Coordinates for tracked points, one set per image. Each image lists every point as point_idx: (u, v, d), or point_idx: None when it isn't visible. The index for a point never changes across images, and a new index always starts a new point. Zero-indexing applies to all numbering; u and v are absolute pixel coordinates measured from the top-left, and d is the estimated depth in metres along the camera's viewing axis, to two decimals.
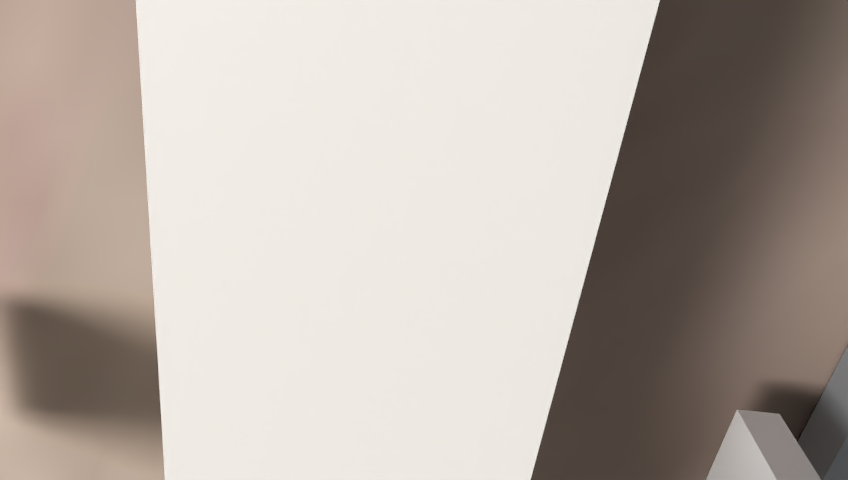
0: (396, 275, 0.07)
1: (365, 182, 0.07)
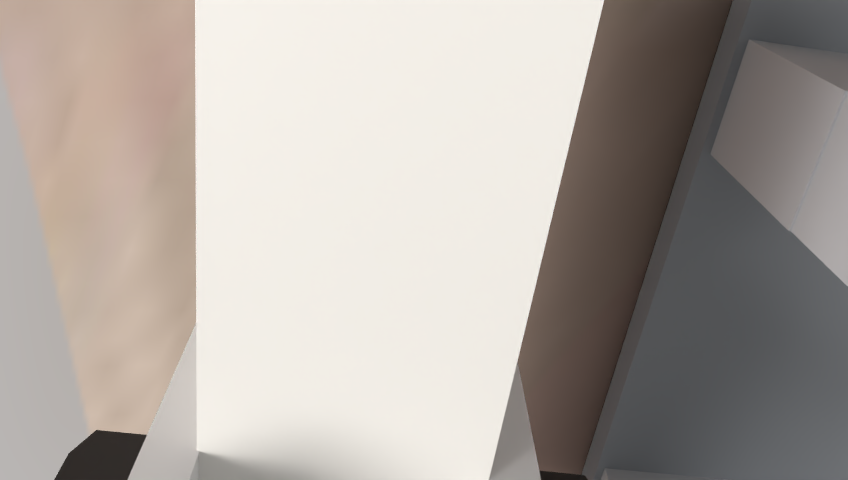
0: (392, 236, 0.09)
1: (369, 160, 0.08)
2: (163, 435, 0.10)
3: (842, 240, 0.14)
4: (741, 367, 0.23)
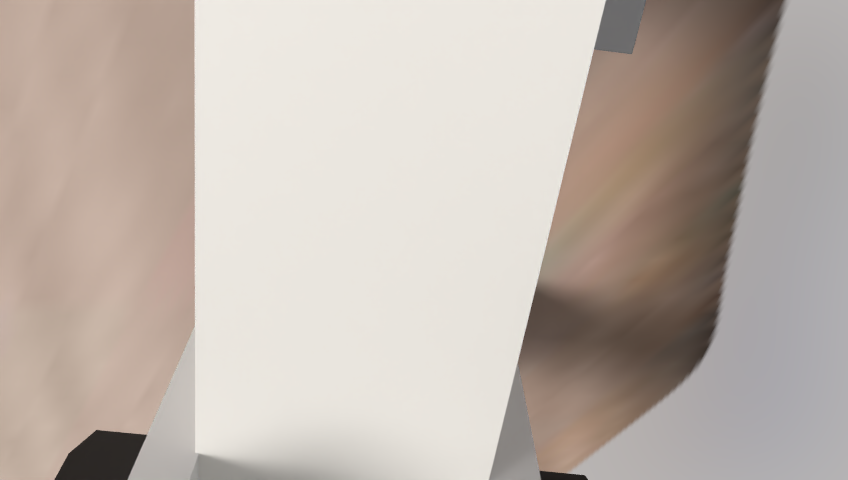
0: (391, 240, 0.09)
1: (368, 163, 0.08)
2: (163, 435, 0.10)
3: None
4: None
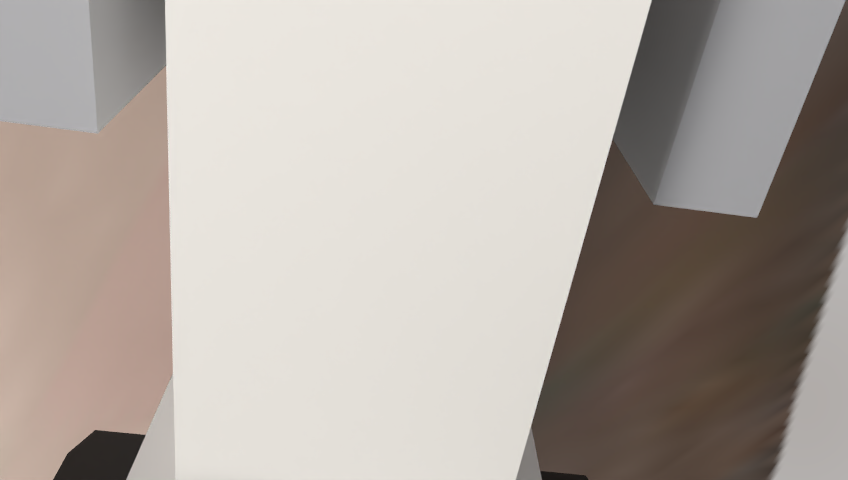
0: (395, 285, 0.08)
1: (369, 202, 0.07)
2: (162, 435, 0.10)
3: None
4: None
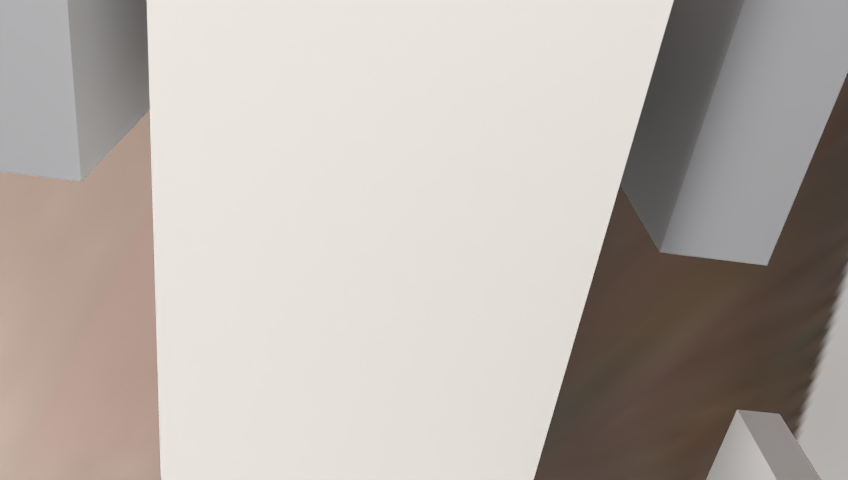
0: (390, 341, 0.07)
1: (363, 256, 0.07)
2: None
3: None
4: None
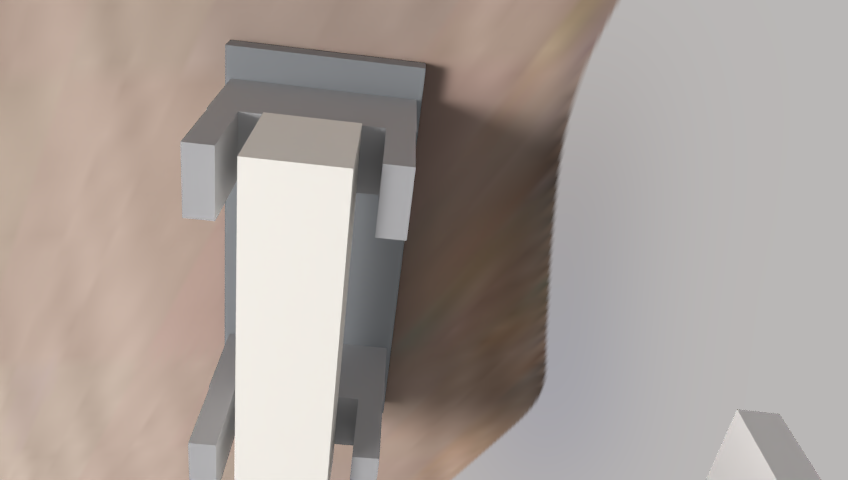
0: (297, 261, 0.28)
1: (288, 238, 0.27)
2: None
3: None
4: None
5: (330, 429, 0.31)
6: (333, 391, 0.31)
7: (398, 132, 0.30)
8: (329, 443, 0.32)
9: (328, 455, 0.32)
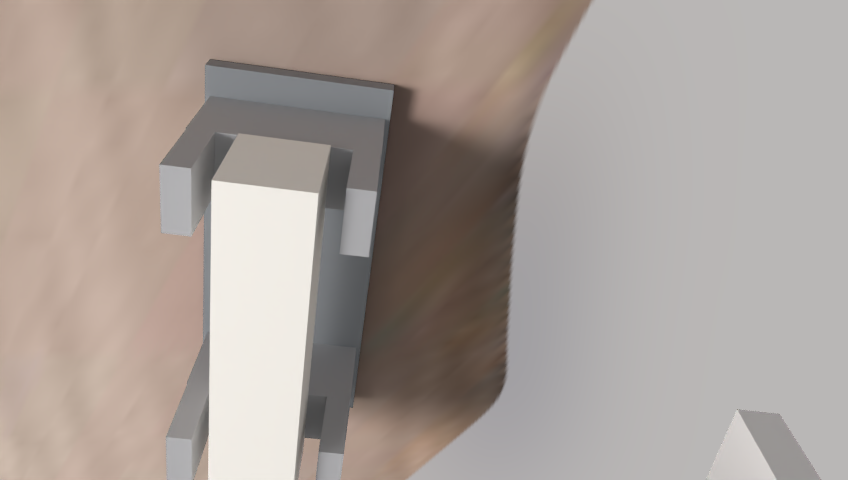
0: (266, 275, 0.30)
1: (258, 254, 0.30)
2: None
3: None
4: None
5: (297, 427, 0.34)
6: (300, 393, 0.33)
7: (365, 155, 0.33)
8: (296, 440, 0.34)
9: (295, 450, 0.35)
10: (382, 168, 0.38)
